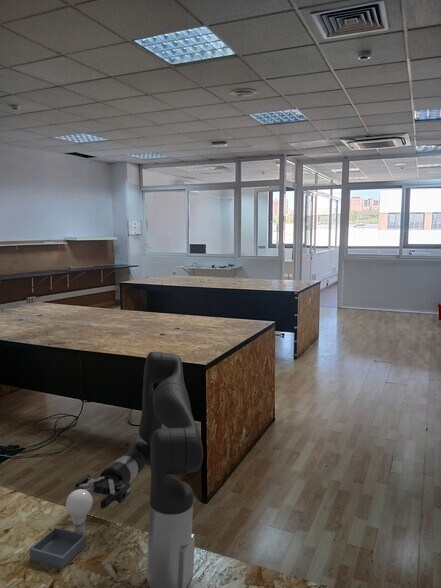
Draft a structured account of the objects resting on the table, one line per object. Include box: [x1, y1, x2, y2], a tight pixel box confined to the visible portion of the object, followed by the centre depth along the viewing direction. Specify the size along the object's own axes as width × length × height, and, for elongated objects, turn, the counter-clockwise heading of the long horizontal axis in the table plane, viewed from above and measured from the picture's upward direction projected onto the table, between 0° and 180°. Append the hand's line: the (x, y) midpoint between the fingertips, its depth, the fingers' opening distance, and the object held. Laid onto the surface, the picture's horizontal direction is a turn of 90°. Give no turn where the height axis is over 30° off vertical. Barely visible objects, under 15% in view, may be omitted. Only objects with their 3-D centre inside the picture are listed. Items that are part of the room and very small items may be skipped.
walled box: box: [29, 526, 87, 570], centre depth 103 cm, size 9×9×3 cm
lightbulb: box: [65, 488, 94, 534], centre depth 110 cm, size 6×6×11 cm
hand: (87, 501), depth 113 cm, fingers open, 8 cm apart
